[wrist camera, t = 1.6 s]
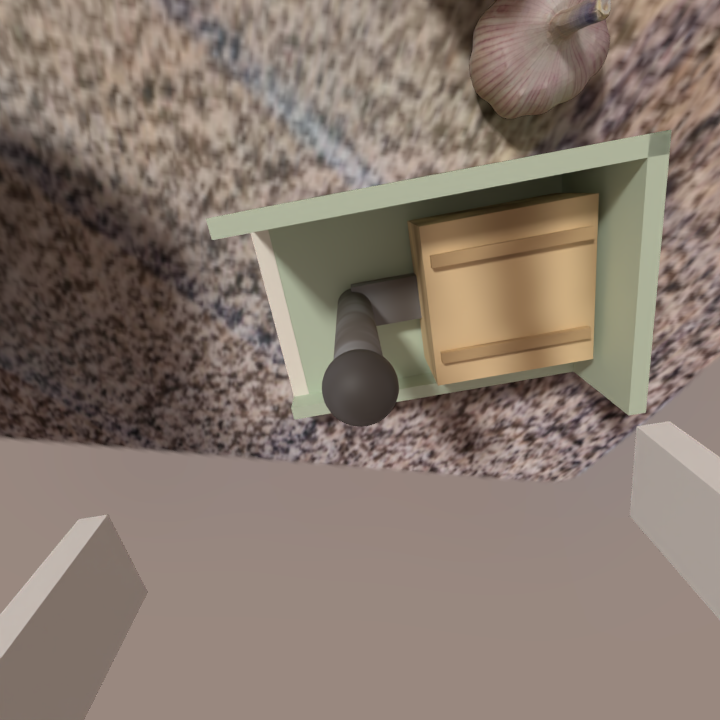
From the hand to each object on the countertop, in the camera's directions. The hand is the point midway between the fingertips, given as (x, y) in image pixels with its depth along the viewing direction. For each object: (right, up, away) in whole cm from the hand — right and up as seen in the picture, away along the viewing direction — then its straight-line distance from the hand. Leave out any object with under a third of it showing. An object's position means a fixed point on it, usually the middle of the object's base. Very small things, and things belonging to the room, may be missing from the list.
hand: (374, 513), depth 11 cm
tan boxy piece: (+6, +9, +19) cm, 22 cm away
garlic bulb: (+10, +22, +15) cm, 29 cm away
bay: (+4, +9, +20) cm, 23 cm away
